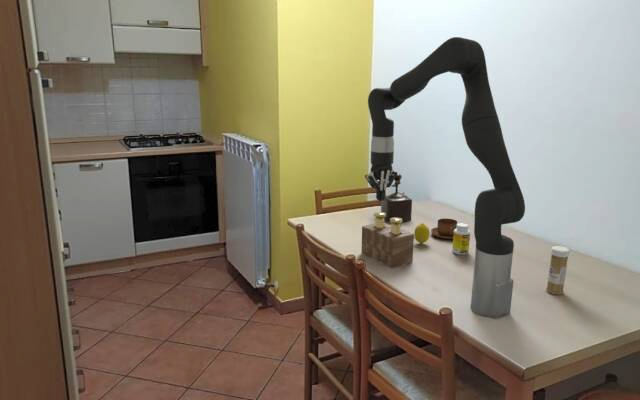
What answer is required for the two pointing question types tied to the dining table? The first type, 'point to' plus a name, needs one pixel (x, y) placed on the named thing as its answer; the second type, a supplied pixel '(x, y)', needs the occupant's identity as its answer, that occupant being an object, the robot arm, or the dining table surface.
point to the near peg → (395, 225)
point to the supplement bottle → (461, 239)
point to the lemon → (421, 233)
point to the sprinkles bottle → (557, 270)
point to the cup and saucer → (445, 228)
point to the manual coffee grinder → (397, 204)
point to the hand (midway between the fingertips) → (380, 200)
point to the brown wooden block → (387, 245)
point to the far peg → (379, 219)
